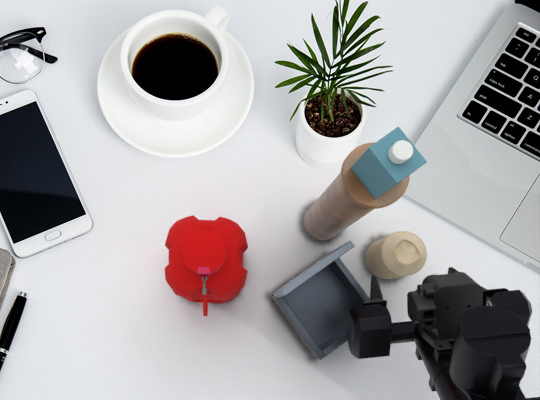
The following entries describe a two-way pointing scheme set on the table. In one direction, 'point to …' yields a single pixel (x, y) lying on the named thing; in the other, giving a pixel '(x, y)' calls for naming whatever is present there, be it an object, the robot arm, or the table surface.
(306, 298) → the open box
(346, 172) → the tall beige cylinder
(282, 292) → the lid
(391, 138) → the teal milk carton
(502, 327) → the robot arm
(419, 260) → the candle
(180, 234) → the red rounded piece
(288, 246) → the table surface
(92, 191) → the table surface
